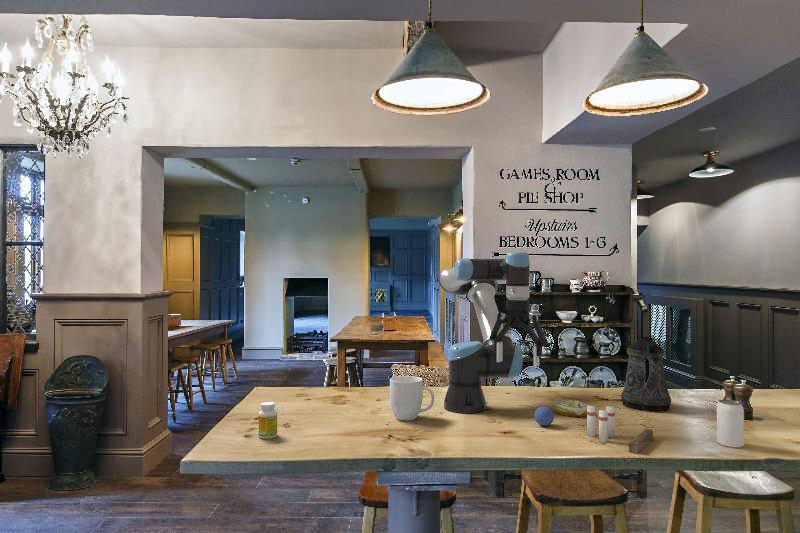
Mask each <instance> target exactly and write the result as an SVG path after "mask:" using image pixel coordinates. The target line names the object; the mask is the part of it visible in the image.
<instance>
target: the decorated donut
mask: <svg viewBox="0 0 800 533" xmlns="http://www.w3.org/2000/svg"><path fill="white" fill-rule="evenodd" d="M553 406H554V407H553V408H554V410H555V412H556V413H557V414H558V415H561V416H564V417H572V418H574V417H575V418H578V417H579V418H582V417H587V406H590V405H589V404H588V403H585V402H584V401H579V400H575V399H559V400H557V401H555V402H554V405H553Z"/></svg>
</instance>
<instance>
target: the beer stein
mask: <svg viewBox="0 0 800 533" xmlns="http://www.w3.org/2000/svg"><path fill="white" fill-rule="evenodd" d="M626 353H627V355H628V360H627V370H626V374H625V381H624V386H623V390H622V392H621V394H620V399H621V401H622V402H621V403H622V405H623V406H624V407H625V408H629V409H630V410H636V411H640V412H641V411H642V412H648V413H649V412H650V413H654V412H655V413H656V412H657V413H661V412H666V411H669V410H670V408H671V405H672V397H671V395H670V393H669V392H670V391H669V390H668V384H667V381H666V376H665V368H664V362H663V358H664V356H665V350H664V349H663V348H662V347H661V346H660V345H659V344H657V343H656V342H655V341H654V339H653V337H650V336H639V337H638V339H637V340H636V341H635V342H634V343H632V344H631V345H629V346H628V347H627V348H626Z"/></svg>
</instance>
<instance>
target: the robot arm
mask: <svg viewBox="0 0 800 533" xmlns="http://www.w3.org/2000/svg"><path fill="white" fill-rule="evenodd" d="M530 265H531V262H530V255H529V253H528V252H524V251H523V252H519V251H518V252H514V251H513V252H506V256H505V258H468V257H467V258H457V259H456V261H455V263H454V267H447V268H445V269H444V270H442V271H441V272H440V274H439V276H438V284H439V286H440V288H441V289H442V290H443V291H444V292H445V293H447V294H450V295H454V296H467V299H468V300H469V301H470V302H471V303H472V304H473V307H474V309H475V310H474V311H475V313H476V317H477V318H476V319H477V321H478V325H479V328H480V333H481V335H482V338H483V342H482V343H481V341H479V340H478V341H477V340H475V341H473V340H472V341H461V342H457V343H454V344H452V345H451V346H450V347H449V349H448V358H447V359H448V387H447V390H446V394H445V397H444V399H443V400H444V401H443V408H444V409H445V410H447V411H449V412H453V413H460V414H461V413H462V414H474V413H481V412H484V411H486V410H487V400H486V397H485V394H484V393H485V392H484V391H483V387H482V379H497V378H500V379H501V378H507V379H509V378H517V377H518V376H519V375H520V374H521V372H522V369H523V361H524V357H523V356H524V354H523V349H522V346H521V345H520V344H516V343H515V344H514V342H513V339H512V338H511V337H510V336H508V335H507V333H508V331H509V330H510V329H511V328H520V329H521V328H522V329H523V330H524V331H525V332H526V333H527V335H528V336H529V338H530V339H531V341H532V342H533V343H534V344H535V345H534V346H533V367H534V368H538V367H540V357H542V355H543V346H546V345H548V344H549V341H548V339H547V336H546V334H545V332H544V330H543V328H542V324H541V323H540V317H539V315H538V314H534V315H533V314H532V315H531V314H530V300H529V299H530ZM498 281H505V296H506V298H507V299H506V300H505V310H506V312H505V313H504V312H500V311H499V309H498V305H497V304H496V300H495V295H496V293H497V291H498V287H499V286H498V285H499V284H498ZM505 319H506V322H505V324H503V322H504V320H505ZM529 321H531V323H532V325H533V328H534V329H533V328H532V326H531V324H530V322H529Z"/></svg>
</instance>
